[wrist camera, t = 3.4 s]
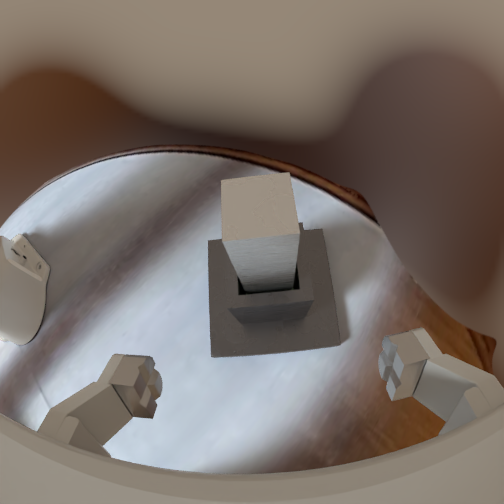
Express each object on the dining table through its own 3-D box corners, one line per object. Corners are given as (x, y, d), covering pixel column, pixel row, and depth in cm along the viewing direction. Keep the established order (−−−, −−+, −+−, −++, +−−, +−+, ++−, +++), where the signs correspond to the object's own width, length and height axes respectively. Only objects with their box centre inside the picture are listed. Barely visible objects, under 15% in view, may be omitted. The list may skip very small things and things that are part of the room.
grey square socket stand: (214, 357, 30) (182, 352, 20) (211, 245, 36) (185, 198, 26) (337, 345, 29) (364, 335, 19) (320, 234, 35) (333, 182, 25)
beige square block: (253, 310, 30) (220, 243, 14) (250, 273, 32) (219, 177, 16) (291, 306, 30) (302, 234, 14) (287, 269, 32) (290, 169, 16)
